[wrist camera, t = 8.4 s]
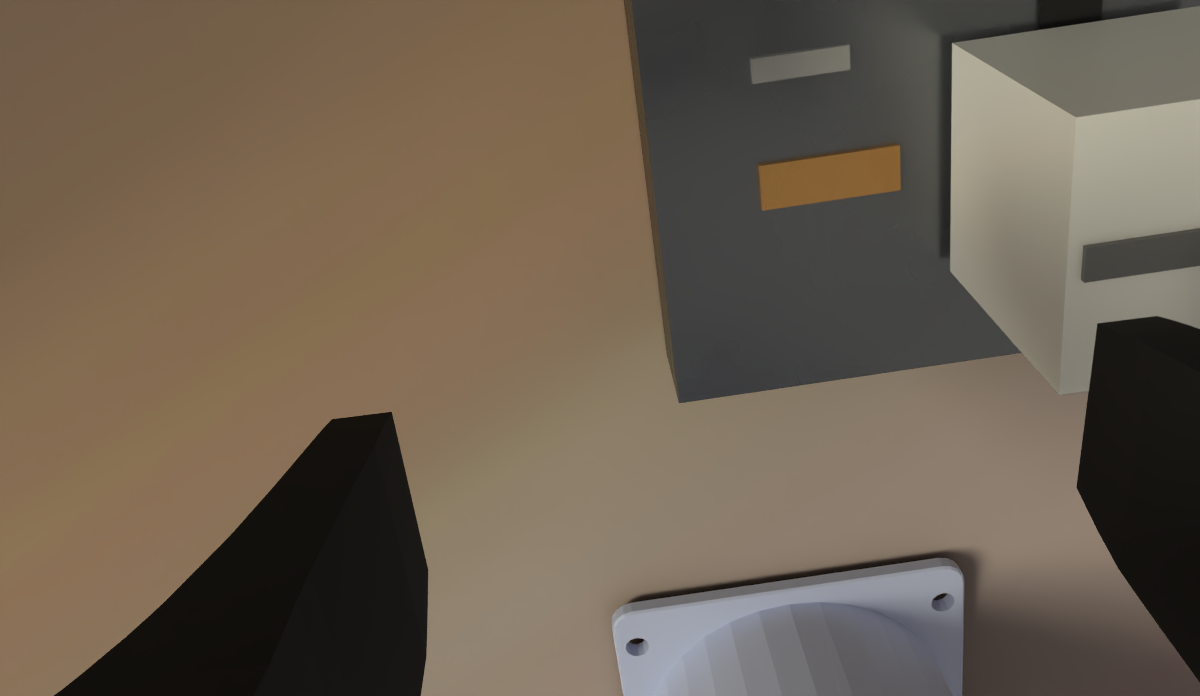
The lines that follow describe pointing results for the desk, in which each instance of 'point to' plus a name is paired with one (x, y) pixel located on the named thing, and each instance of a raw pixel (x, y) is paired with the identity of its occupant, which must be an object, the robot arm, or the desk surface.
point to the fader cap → (1078, 182)
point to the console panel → (813, 182)
